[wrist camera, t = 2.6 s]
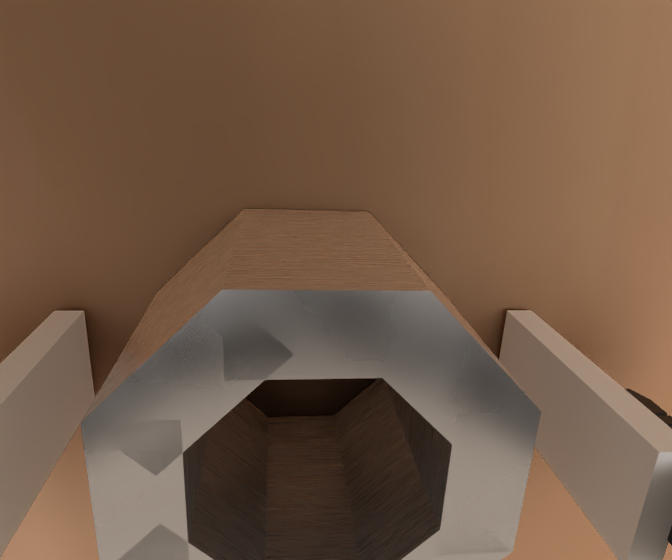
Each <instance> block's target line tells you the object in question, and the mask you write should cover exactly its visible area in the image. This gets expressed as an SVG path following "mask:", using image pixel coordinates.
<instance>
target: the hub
mask: <svg viewBox="0 0 672 560" xmlns="http://www.w3.org/2000/svg"><path fill="white" fill-rule="evenodd" d="M355 378H377V379H376V380H375V381H374V382H372V383H371V384H370V385H369V386H368V387H367V388H365V389H364V390H363V391H362V392H361V393H359V394H358V395H357V396H356V397H355V398H354V399H352V400H351V401H350V402H349V403H348V404H346V405H345V406H344V407H343V408H342V409H341V410H339V411H338V412H337V413H336V414H335V415H330V416H287V417H268V416H267V415H266V414H264V413H263V412H262V411H261V410H260V409H258V408H257V407H256V406H255V405H254V404H252V403H251V402H250V401H249V400H247V399H246V398H245V397H246V396H247V395H248V394H250V393H251V392H252V391H253V390H254V389H255V388H256V387H257V386H259V385H260V384H261V383H262V382H263V381H264V380H289V379H355ZM541 412H542V411H541V410H540V409H539V408H538V407H537V405H536V404H535V403H534V402H533V400H532V399H531V398H530V397H529V396H528V394H527V393H526V392H525V391H524V390H523V388H522V387H521V386H520V385H519V384H518V382H517V381H516V380H515V379H514V378H513V376H512V375H511V374H510V373H509V372H508V370H507V369H506V368H505V367H504V366H503V364H502V363H501V362H500V361H499V360H498V358H497V357H496V356H495V355H494V354H493V352H492V351H491V350H490V349H489V348H488V346H487V345H486V344H485V343H484V342H483V340H482V339H481V338H480V337H479V336H478V334H477V333H476V332H475V331H474V330H473V328H472V327H471V326H470V325H469V324H468V322H467V321H466V320H465V319H464V318H463V316H462V315H461V314H460V313H459V312H458V310H457V309H456V308H455V307H454V305H453V304H452V303H451V302H450V301H449V299H448V298H447V297H446V296H445V295H444V293H443V292H442V291H441V290H440V289H439V288H438V287H437V286H436V285H435V284H434V283H433V281H432V280H431V279H430V278H429V277H428V276H427V275H426V274H425V273H424V272H423V270H422V269H421V268H420V267H419V266H418V265H417V264H416V263H415V262H414V261H413V260H412V258H411V257H410V256H409V255H408V254H407V253H406V252H405V251H404V250H403V249H402V247H401V246H400V245H399V244H398V243H397V242H396V241H395V240H394V239H393V238H392V237H391V235H390V234H389V233H388V232H387V231H386V230H385V229H384V228H383V227H382V226H381V224H380V223H379V222H378V221H377V220H376V219H375V218H374V217H373V216H372V215H371V213H370V212H369V211H327V210H283V209H243V210H242V211H241V212H240V213H239V214H238V215H237V216H236V217H235V218H234V219H232V220H231V221H230V222H229V223H228V224H227V225H226V226H225V227H224V228H223V229H222V230H221V231H220V232H219V233H218V234H217V235H216V236H215V237H214V238H213V239H212V240H211V241H210V242H209V243H208V244H207V245H205V246H204V247H203V248H202V249H201V250H200V251H199V252H198V253H197V254H196V255H195V256H194V257H193V258H192V259H191V260H190V261H189V262H188V263H187V264H186V265H185V266H184V267H183V268H182V269H181V270H180V271H179V272H177V273H176V274H175V275H174V276H173V277H172V278H171V279H170V280H169V281H168V282H167V283H166V284H165V285H164V286H163V287H162V288H161V289H160V290H159V291H158V292H157V293H156V295H155V297H154V298H153V300H152V302H151V303H150V305H149V307H148V309H147V310H146V312H145V314H144V315H143V317H142V319H141V320H140V322H139V324H138V325H137V327H136V329H135V331H134V332H133V334H132V336H131V337H130V339H129V341H128V342H127V344H126V346H125V347H124V349H123V351H122V353H121V354H120V356H119V358H118V359H117V361H116V363H115V364H114V366H113V368H112V370H111V371H110V373H109V375H108V376H107V378H106V380H105V381H104V383H103V385H102V386H101V388H100V390H99V392H98V393H97V395H96V397H95V398H94V400H93V402H92V403H91V405H90V407H89V408H88V410H87V412H86V414H85V415H84V417H83V419H82V420H81V422H80V423H81V430H82V437H83V445H84V452H85V459H86V467H87V474H88V481H89V489H90V496H91V503H92V510H93V518H94V525H95V532H96V540H97V547H98V554H99V560H502V559H503V558H504V557H506V556H507V555H508V554H510V553H511V552H513V547H514V543H515V538H516V533H517V528H518V523H519V518H520V513H521V509H522V504H523V499H524V494H525V489H526V484H527V479H528V475H529V470H530V465H531V460H532V455H533V450H534V445H535V441H536V436H537V431H538V426H539V421H540V416H541Z"/></svg>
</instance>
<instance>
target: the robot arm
mask: <svg viewBox="0 0 672 560" xmlns="http://www.w3.org/2000/svg"><path fill="white" fill-rule="evenodd" d="M499 361H500V362H501V363H502V364H503V366H504V367H505V368H506V369H507V370H508V372H509V373H510V374H511V375H512V376H513V378H514V379H515V380H516V381H517V382H518V384H519V385H520V386H521V387H522V388H523V390H524V391H525V392H526V393H527V394H528V396H529V397H530V398H531V399H532V400H533V402H534V403H535V404H536V405H537V407H538V408H539V409H540V410H541V411H542V412H541V416H540V421H539V426H538V431H537V436H536V441H535V445H534V446H535V448H536V449H537V450H538V452H539V453H540V454H541V456H542V457H543V458H544V460H545V461H546V462H547V464H548V465H549V467H550V468H551V469H552V471H553V472H554V473H555V475H556V476H557V477H558V479H559V480H560V481H561V483H562V484H563V486H564V487H565V488H566V490H567V491H568V492H569V494H570V495H571V496H572V498H573V499H574V500H575V502H576V503H577V505H578V506H579V507H580V509H581V510H582V511H583V513H584V514H585V515H586V517H587V518H588V520H589V521H590V522H591V524H592V525H593V526H594V528H595V529H596V530H597V532H598V533H599V534H600V536H601V537H602V539H603V540H604V541H605V543H606V544H607V545H608V547H609V548H610V549H611V551H612V552H613V553H614V555H615V556H616V558H617V559H618V560H663V557H664V554H665V551H666V548H667V545H668V542H669V543H670V544H671V545H672V417H671V416H667V413H666V412H665V411H664V410H662V409H661V408H660V407H659V406H657V405H656V404H655V403H654V402H653V401H651V400H650V399H648V398H646V397H644V396H642V395H640V394H638V393H636V392H634V391H632V390H630V389H624V388H623V387H622V386H620V385H619V384H618V383H617V382H616V381H615V380H613V379H612V378H611V377H610V376H609V375H607V374H606V373H605V372H604V371H603V370H601V369H600V368H599V367H598V366H597V365H596V364H594V363H593V362H592V361H591V360H590V359H588V358H587V357H586V356H585V355H584V354H583V353H581V352H580V351H579V350H578V349H577V348H575V347H574V346H573V345H572V344H571V343H569V342H568V341H567V340H566V339H565V338H564V337H562V336H561V335H560V334H559V333H558V332H556V331H555V330H554V329H553V328H552V327H550V326H549V325H548V324H547V323H546V322H545V321H543V320H542V319H541V318H540V317H539V316H537V315H536V314H535V313H534V312H533V311H532V310H507V314H506V320H505V326H504V332H503V339H502V345H501V351H500V357H499ZM94 398H95V396H94V387H93V379H92V371H91V363H90V355H89V347H88V338H87V330H86V322H85V314H84V311H53V312H52V313H51V314H50V315H49V316H48V317H47V318H46V319H45V320H44V321H43V322H42V323H41V324H40V325H39V326H38V327H37V328H36V329H35V330H34V331H33V332H32V333H31V334H30V335H29V336H28V337H27V338H26V339H25V340H24V341H23V342H22V343H21V344H20V345H19V346H18V347H17V348H16V349H15V350H14V351H13V352H11V353H10V354H9V355H8V356H7V357H6V358H5V359H4V360H3V361H2V362H1V363H0V558H1V556H2V554H3V552H4V551H5V549H6V547H7V546H8V544H9V542H10V541H11V539H12V537H13V536H14V534H15V532H16V531H17V529H18V527H19V526H20V524H21V522H22V520H23V519H24V517H25V515H26V514H27V512H28V510H29V509H30V507H31V505H32V504H33V502H34V500H35V499H36V497H37V495H38V494H39V492H40V490H41V488H42V487H43V485H44V483H45V482H46V480H47V478H48V477H49V475H50V473H51V472H52V470H53V468H54V467H55V465H56V463H57V462H58V460H59V458H60V456H61V455H62V453H63V451H64V450H65V448H66V446H67V445H68V443H69V441H70V440H71V438H72V436H73V435H74V433H75V431H76V430H77V428H78V426H79V425H80V422H81V420H82V419H83V417H84V415H85V414H86V412H87V410H88V408H89V407H90V405H91V403H92V402H93V400H94Z"/></svg>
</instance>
